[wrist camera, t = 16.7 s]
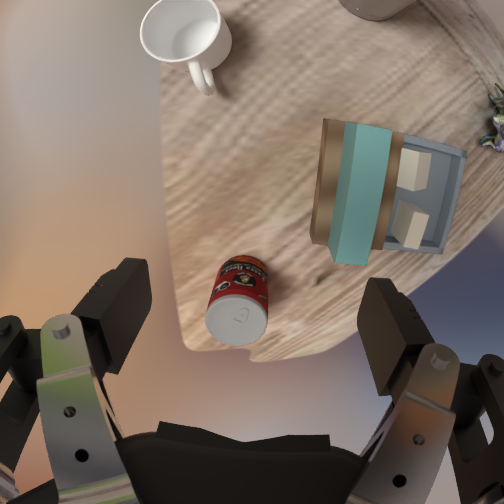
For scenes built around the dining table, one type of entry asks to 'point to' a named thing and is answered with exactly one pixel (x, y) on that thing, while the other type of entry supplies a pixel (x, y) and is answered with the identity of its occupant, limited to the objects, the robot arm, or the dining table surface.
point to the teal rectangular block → (358, 192)
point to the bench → (329, 182)
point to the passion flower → (496, 125)
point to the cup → (187, 38)
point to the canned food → (238, 302)
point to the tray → (432, 195)
